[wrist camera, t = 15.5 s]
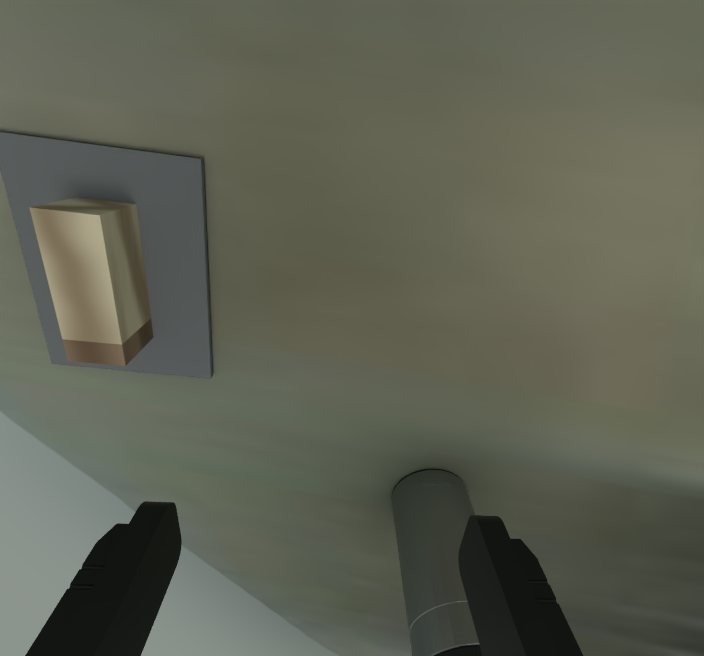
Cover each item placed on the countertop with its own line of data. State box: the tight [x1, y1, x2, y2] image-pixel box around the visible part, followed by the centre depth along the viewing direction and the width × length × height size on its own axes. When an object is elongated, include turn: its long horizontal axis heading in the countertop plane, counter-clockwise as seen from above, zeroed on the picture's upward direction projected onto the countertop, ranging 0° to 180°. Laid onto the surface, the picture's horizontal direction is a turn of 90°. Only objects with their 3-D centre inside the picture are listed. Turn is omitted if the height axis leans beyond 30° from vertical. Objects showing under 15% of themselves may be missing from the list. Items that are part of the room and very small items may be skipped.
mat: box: [0, 132, 213, 379], centre depth 33 cm, size 20×15×1 cm
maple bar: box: [29, 197, 153, 366], centre depth 30 cm, size 4×12×5 cm, turn 173°
